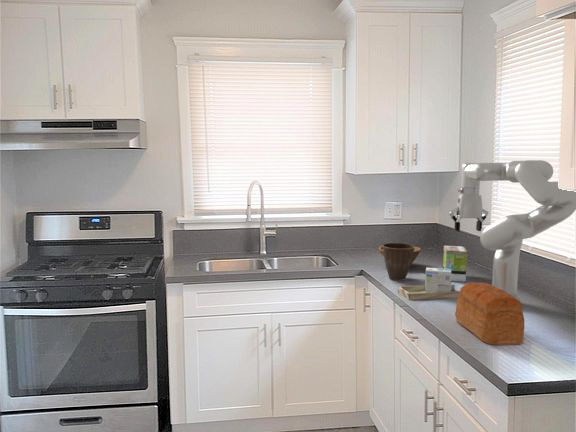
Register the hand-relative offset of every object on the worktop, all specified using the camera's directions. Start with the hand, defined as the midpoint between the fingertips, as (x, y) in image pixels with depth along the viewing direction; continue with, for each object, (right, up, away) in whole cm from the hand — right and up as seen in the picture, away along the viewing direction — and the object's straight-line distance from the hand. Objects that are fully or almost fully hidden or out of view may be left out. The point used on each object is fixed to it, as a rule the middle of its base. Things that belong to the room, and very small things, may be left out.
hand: (468, 230), depth 234 cm
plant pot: (-26, -24, +24) cm, 43 cm away
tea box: (+2, -24, +27) cm, 36 cm away
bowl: (-19, -21, +52) cm, 59 cm away
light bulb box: (-14, -27, -4) cm, 31 cm away
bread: (-10, -33, -51) cm, 61 cm away
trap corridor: (-17, -27, -4) cm, 32 cm away
